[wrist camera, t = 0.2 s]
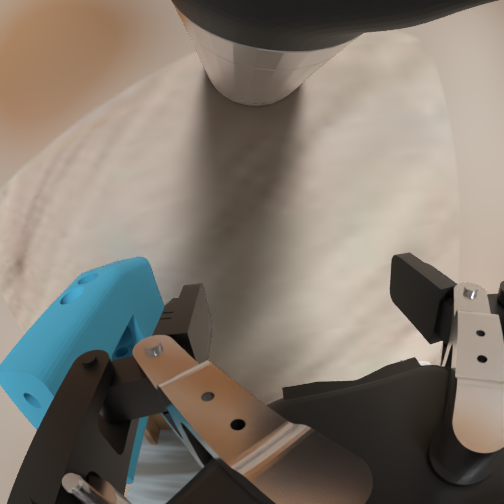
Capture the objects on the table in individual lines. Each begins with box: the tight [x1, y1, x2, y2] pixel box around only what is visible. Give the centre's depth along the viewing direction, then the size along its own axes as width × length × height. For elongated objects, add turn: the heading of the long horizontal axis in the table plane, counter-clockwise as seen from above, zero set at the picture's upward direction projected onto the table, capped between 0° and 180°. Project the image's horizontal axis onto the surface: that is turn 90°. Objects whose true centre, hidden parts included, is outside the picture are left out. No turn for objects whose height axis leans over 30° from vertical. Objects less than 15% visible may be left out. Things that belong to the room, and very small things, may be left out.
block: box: [0, 257, 165, 484], centre depth 22 cm, size 12×5×20 cm, turn 10°
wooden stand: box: [127, 413, 202, 504], centre depth 27 cm, size 18×14×22 cm
